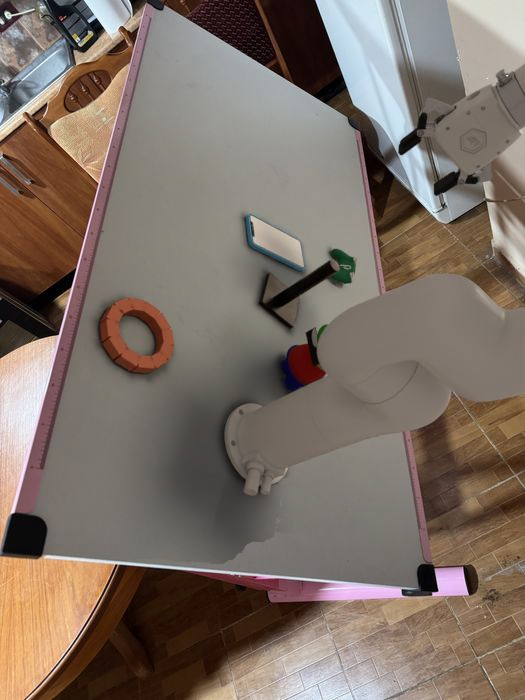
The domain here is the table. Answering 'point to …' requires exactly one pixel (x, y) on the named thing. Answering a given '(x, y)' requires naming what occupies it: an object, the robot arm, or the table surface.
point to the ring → (118, 346)
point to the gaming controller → (344, 266)
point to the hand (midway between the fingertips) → (417, 170)
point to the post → (292, 292)
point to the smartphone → (274, 242)
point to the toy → (303, 362)
